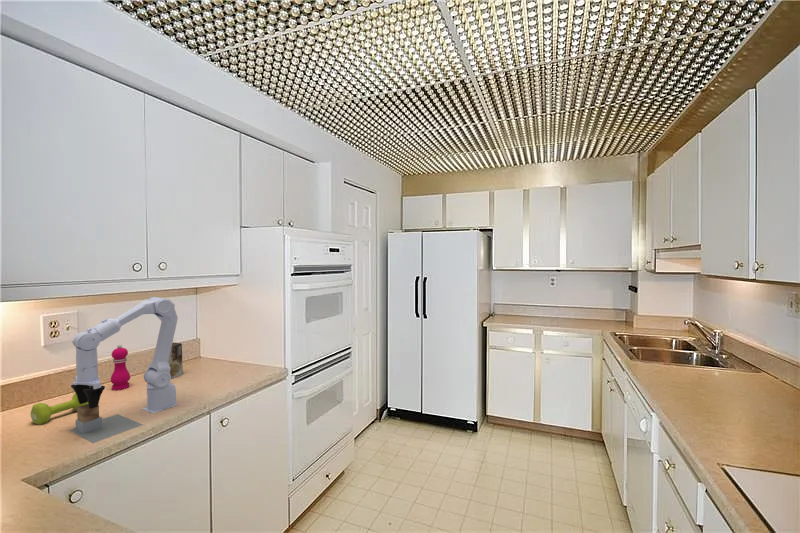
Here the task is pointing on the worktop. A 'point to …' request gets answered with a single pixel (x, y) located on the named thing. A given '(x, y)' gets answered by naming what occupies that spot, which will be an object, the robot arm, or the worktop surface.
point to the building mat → (109, 428)
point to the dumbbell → (52, 410)
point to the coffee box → (176, 360)
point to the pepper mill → (120, 369)
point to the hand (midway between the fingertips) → (88, 405)
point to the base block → (89, 425)
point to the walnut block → (87, 413)
